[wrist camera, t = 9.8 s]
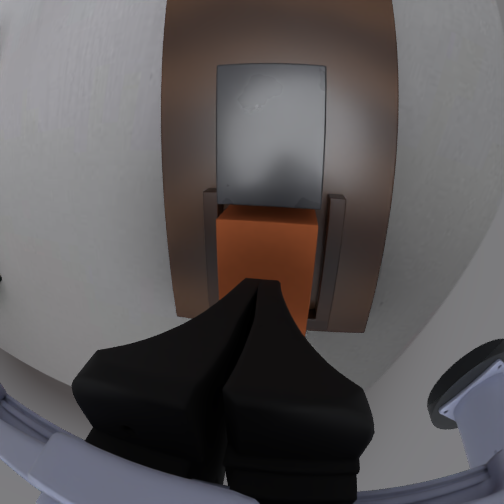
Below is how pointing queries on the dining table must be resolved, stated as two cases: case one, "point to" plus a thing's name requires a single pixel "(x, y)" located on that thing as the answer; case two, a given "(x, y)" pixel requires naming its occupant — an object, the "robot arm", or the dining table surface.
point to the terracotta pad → (269, 252)
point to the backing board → (281, 138)
